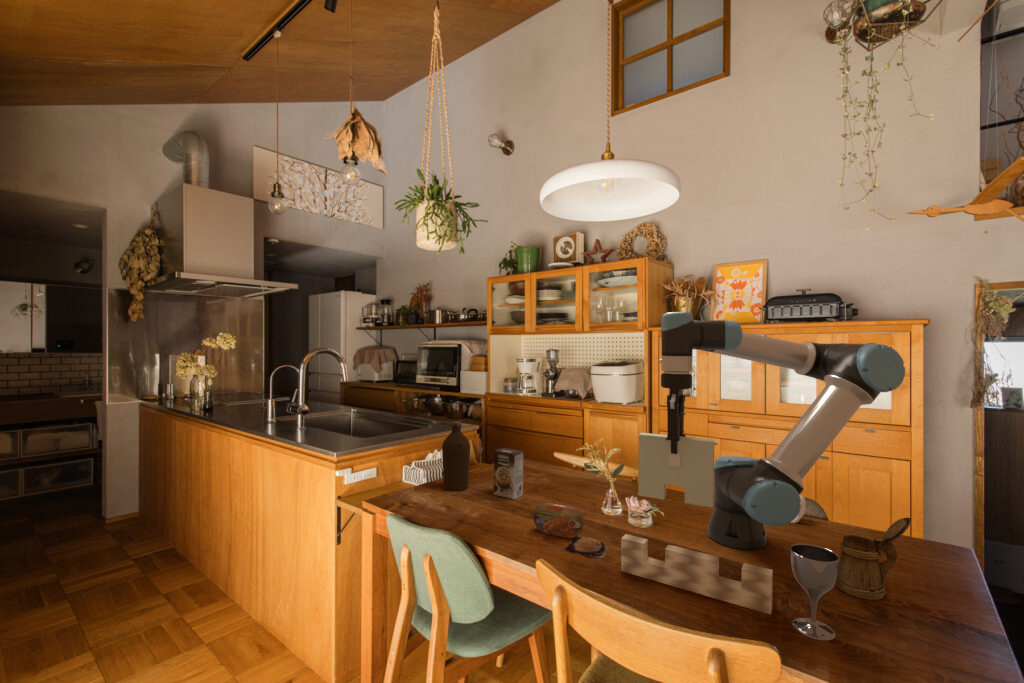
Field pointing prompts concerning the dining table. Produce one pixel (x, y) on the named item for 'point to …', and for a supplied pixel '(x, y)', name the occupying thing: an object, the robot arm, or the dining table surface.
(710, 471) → the sage board
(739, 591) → the notched fence
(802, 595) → the dining table surface
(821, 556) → the wine glass
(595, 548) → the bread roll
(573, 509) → the tin
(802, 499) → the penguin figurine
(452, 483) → the olive oil
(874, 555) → the wooden mug
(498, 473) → the coffee box
